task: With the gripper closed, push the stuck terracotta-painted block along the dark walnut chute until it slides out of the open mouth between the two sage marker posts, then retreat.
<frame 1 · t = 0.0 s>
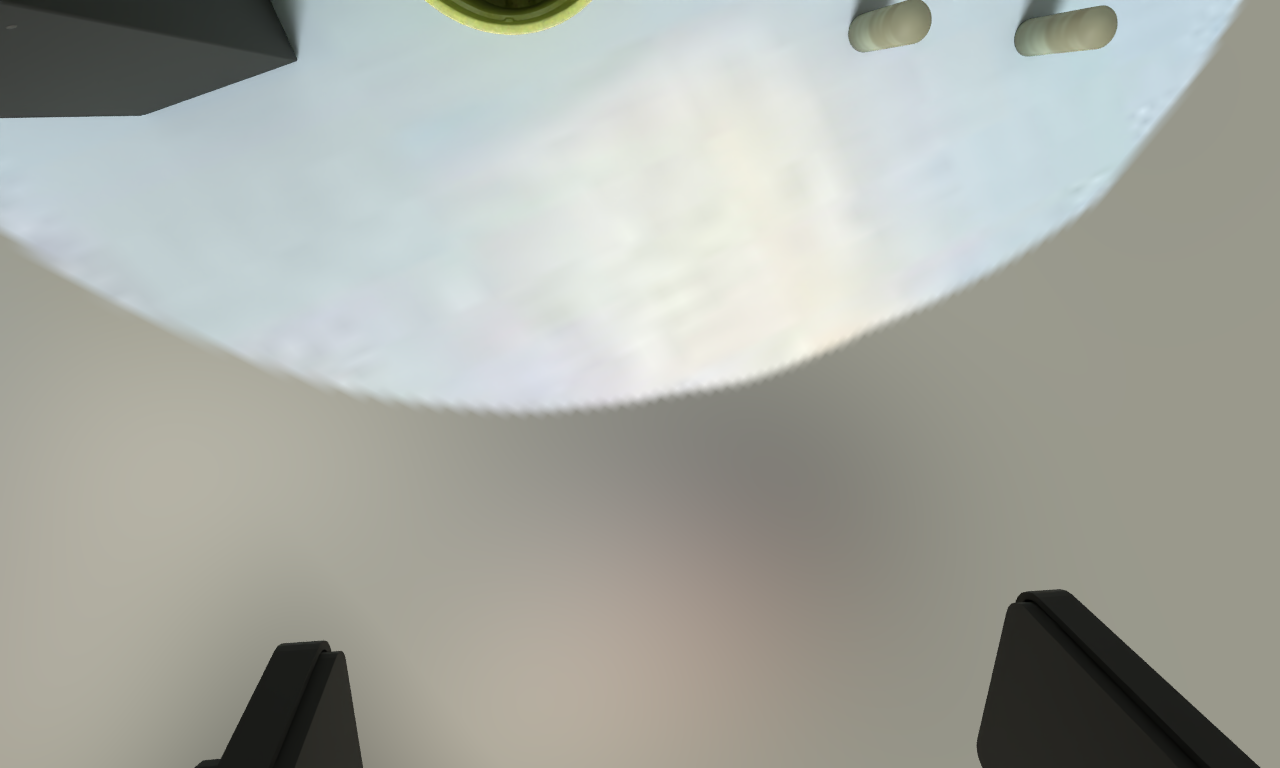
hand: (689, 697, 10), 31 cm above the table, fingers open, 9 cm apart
tall black pillar: (178, 1, 33), on the table
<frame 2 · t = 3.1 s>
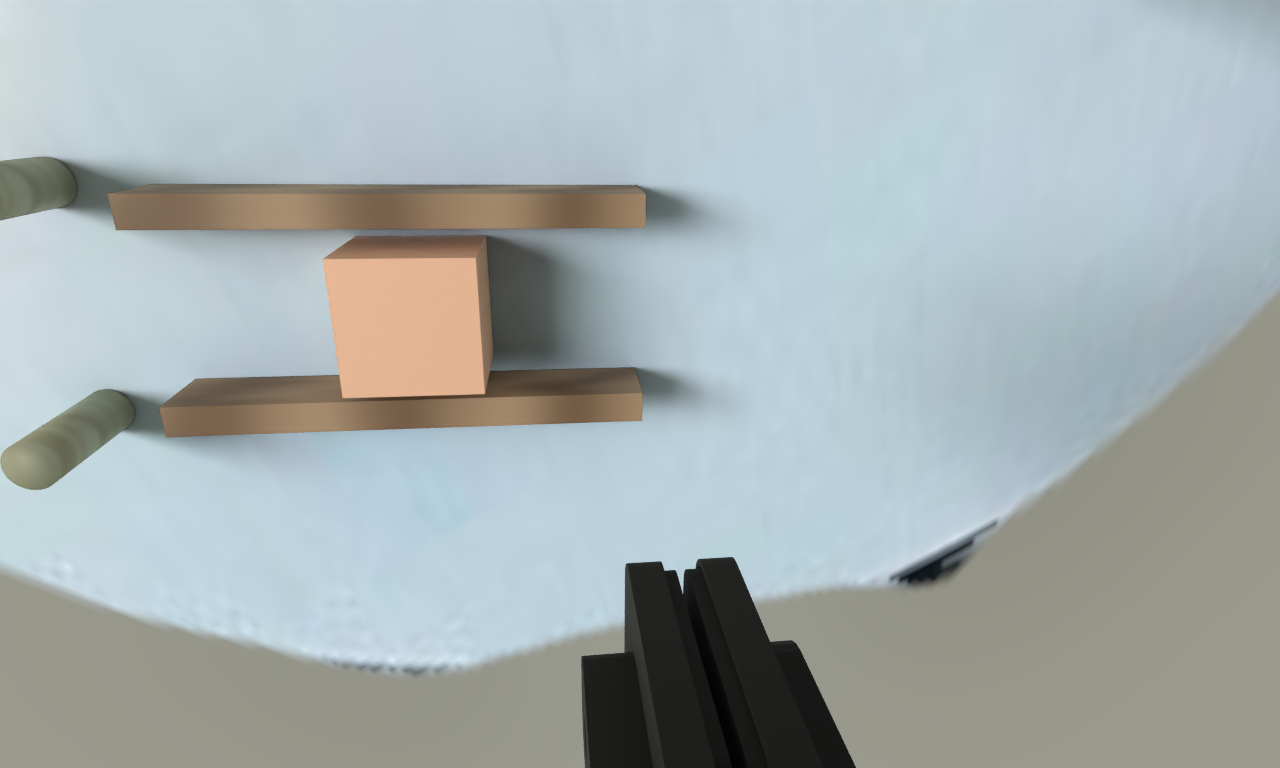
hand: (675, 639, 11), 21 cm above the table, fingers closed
chute: (414, 297, 30), on the table
block: (418, 312, 28), point 2 cm above the table, slide at 0.0 cm
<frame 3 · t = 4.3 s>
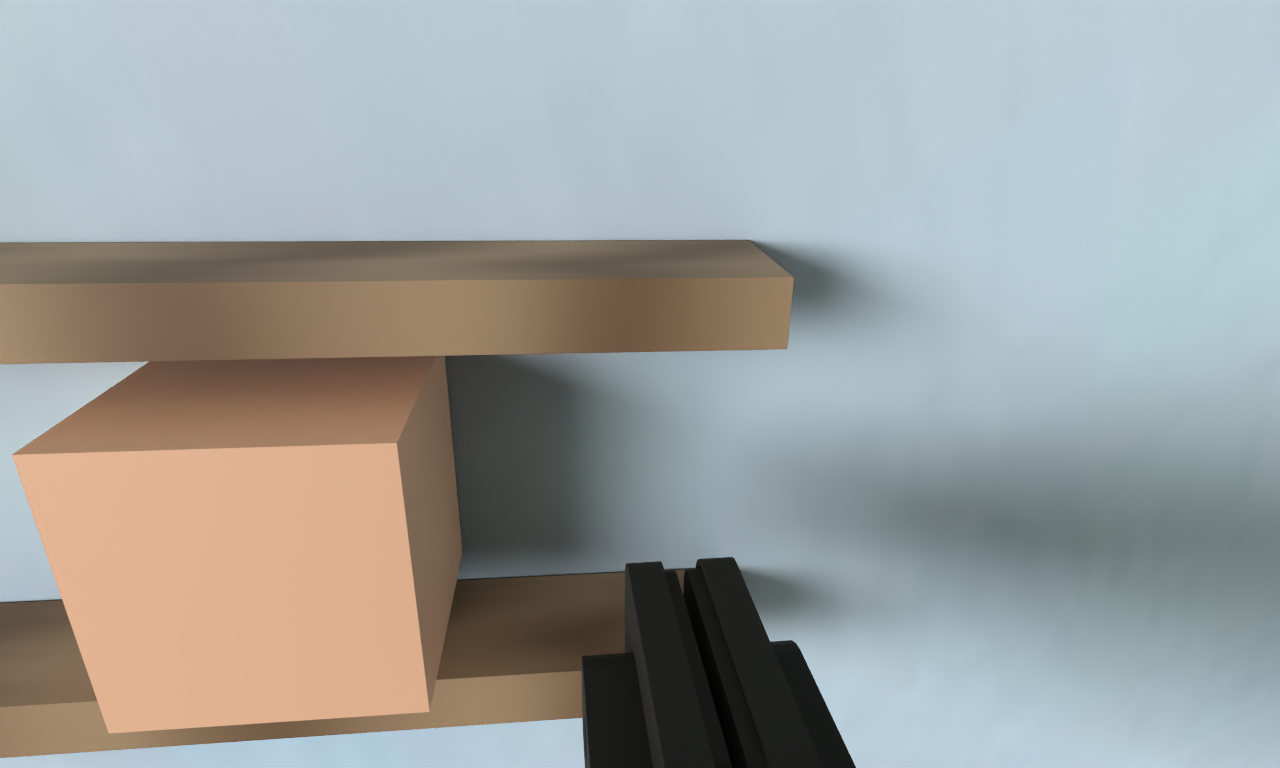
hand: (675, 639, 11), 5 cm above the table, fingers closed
chute: (305, 457, 15), on the table
block: (293, 515, 13), point 2 cm above the table, slide at 0.0 cm
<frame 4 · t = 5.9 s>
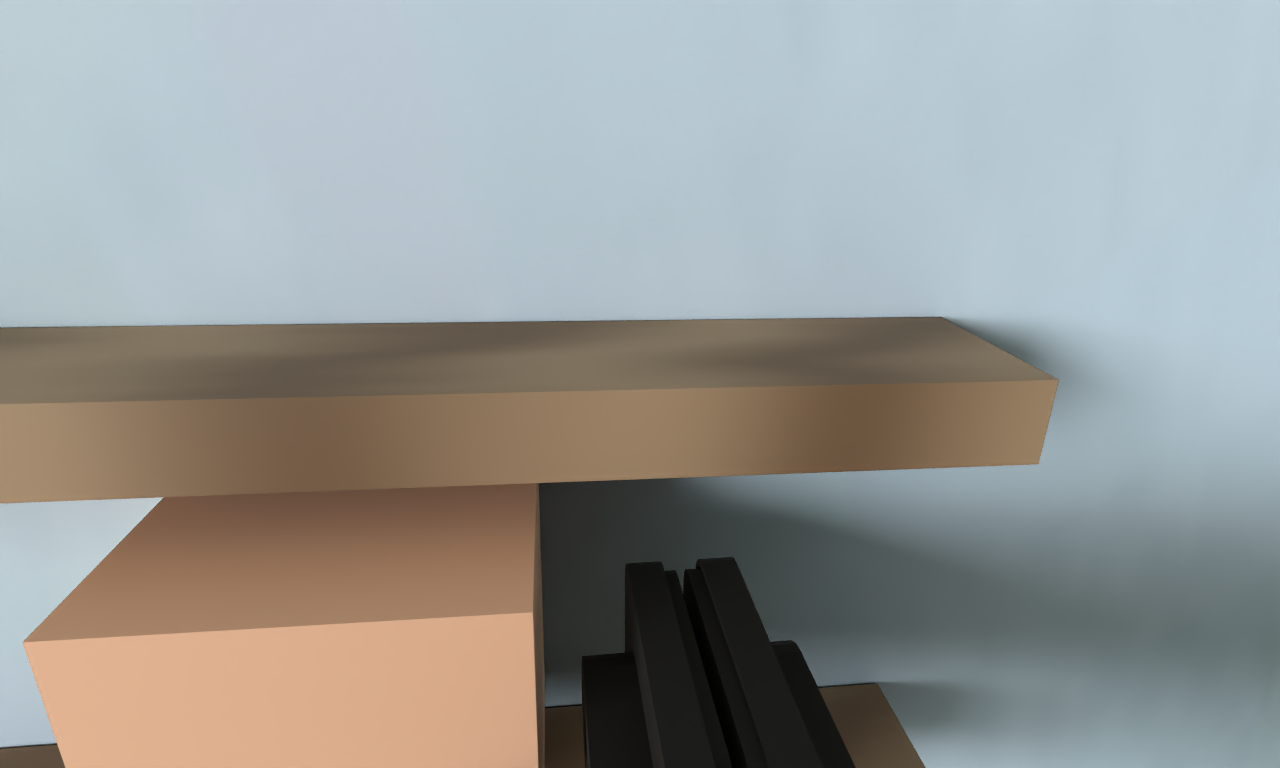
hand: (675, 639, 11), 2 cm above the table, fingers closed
chute: (406, 571, 13), on the table
block: (364, 665, 10), point 2 cm above the table, slide at 0.7 cm, touching gripper
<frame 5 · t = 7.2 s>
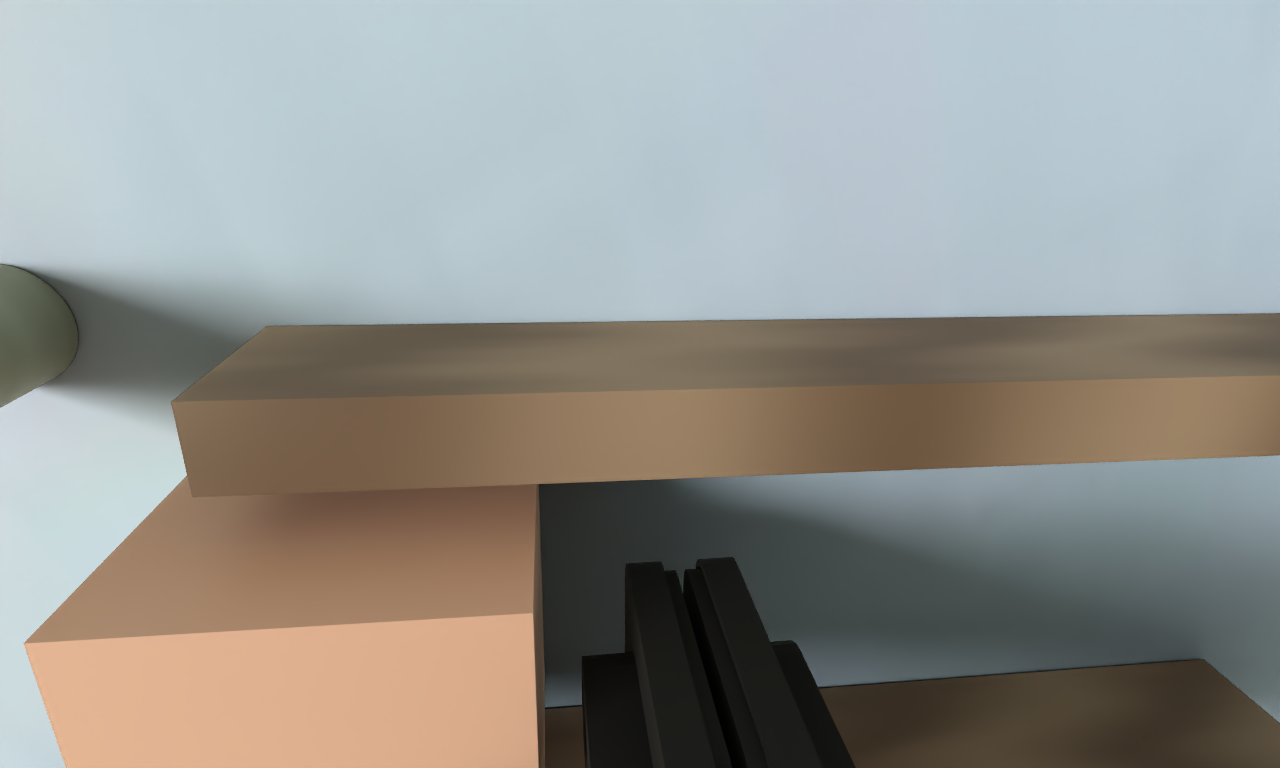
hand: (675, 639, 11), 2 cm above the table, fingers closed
chute: (817, 551, 14), on the table
block: (365, 666, 11), point 2 cm above the table, slide at 8.1 cm, touching gripper
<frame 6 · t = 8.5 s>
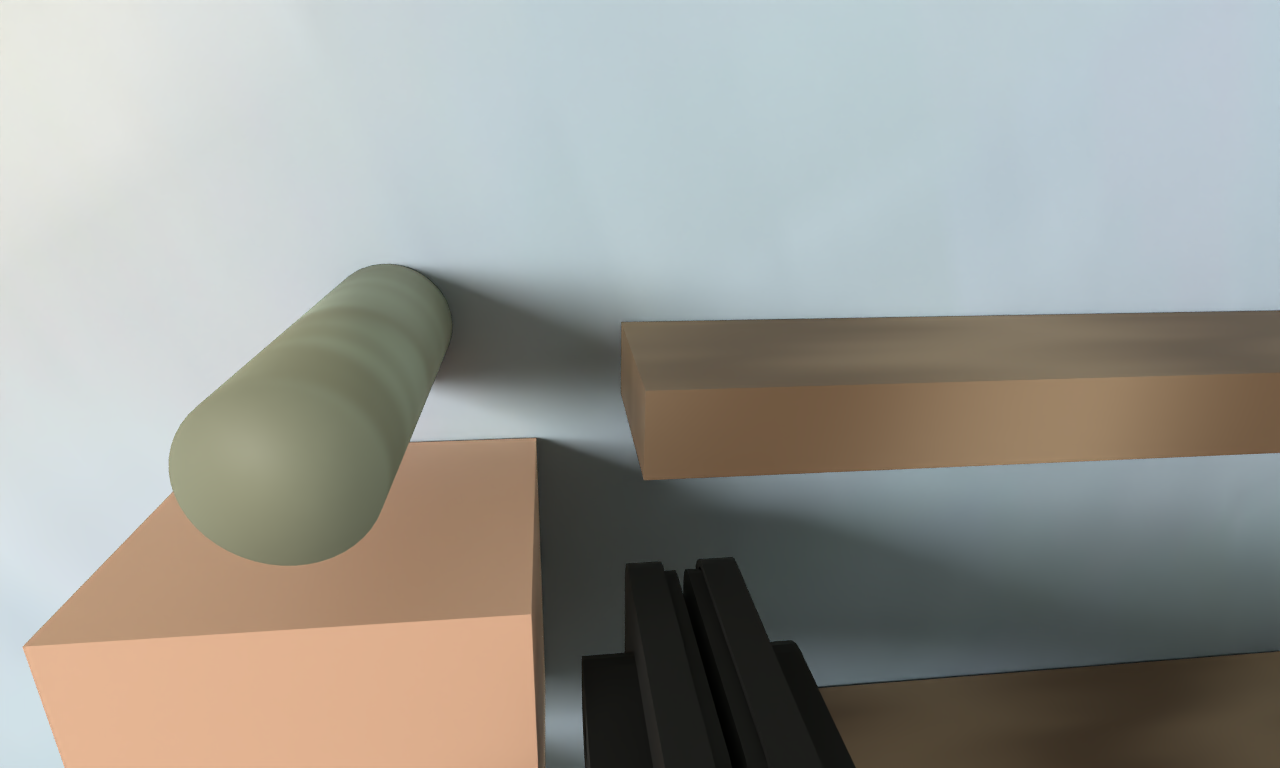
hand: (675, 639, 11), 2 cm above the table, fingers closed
chute: (1082, 536, 14), on the table
block: (365, 667, 11), point 2 cm above the table, slide at 13.4 cm, touching gripper
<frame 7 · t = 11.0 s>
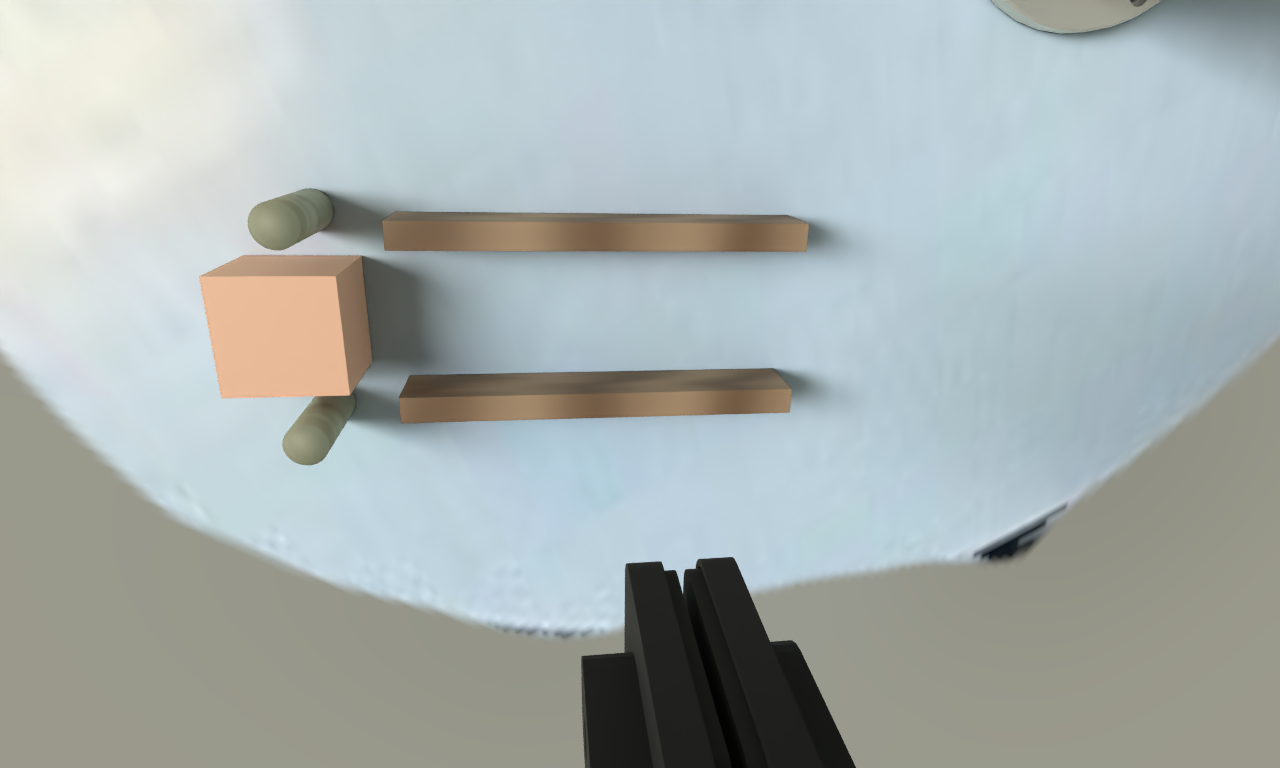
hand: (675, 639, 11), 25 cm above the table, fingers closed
chute: (597, 307, 35), on the table
block: (294, 323, 31), point 2 cm above the table, slide at 13.6 cm
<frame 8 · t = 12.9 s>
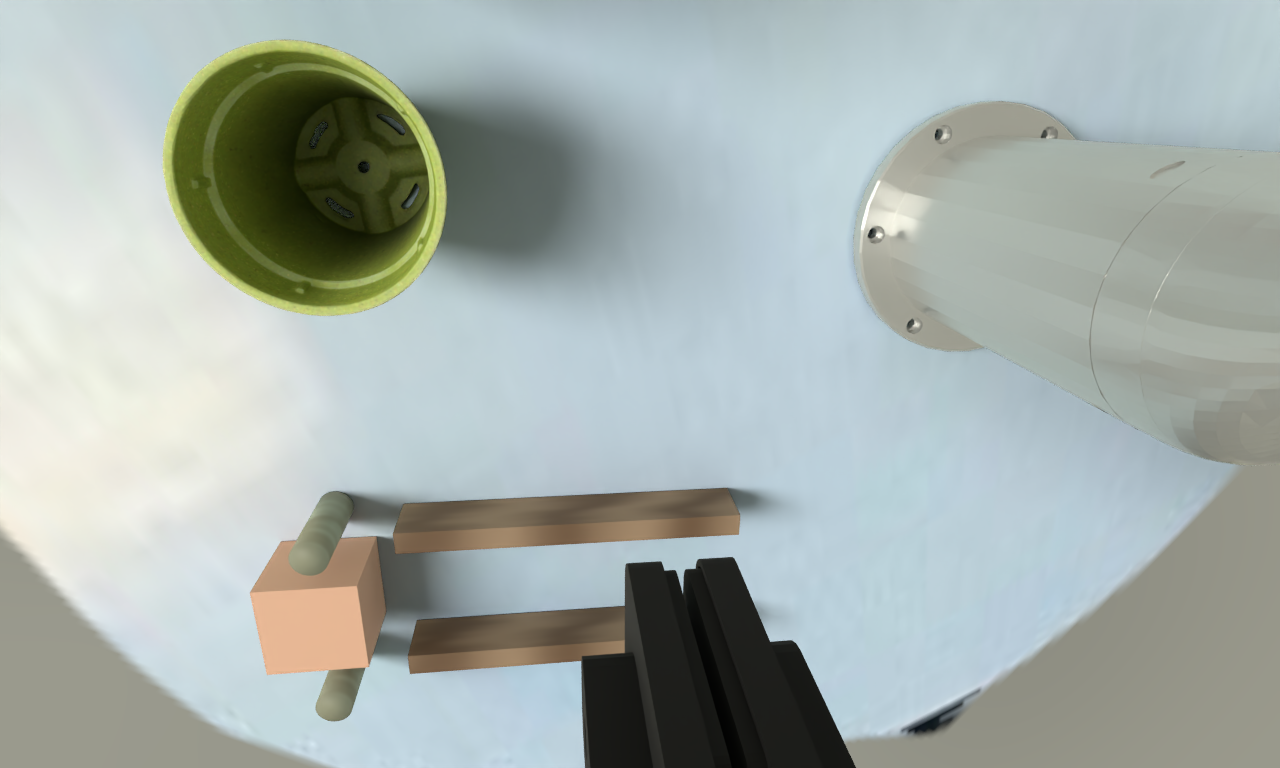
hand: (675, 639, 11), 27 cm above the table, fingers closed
chute: (571, 563, 42), on the table
plant pot: (366, 167, 34), on the table
block: (323, 602, 39), point 2 cm above the table, slide at 13.6 cm
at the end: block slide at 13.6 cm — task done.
